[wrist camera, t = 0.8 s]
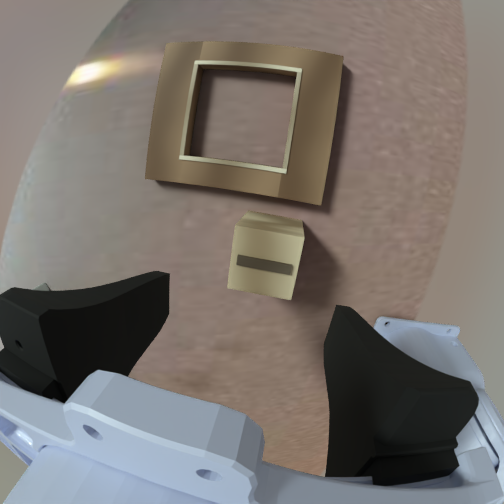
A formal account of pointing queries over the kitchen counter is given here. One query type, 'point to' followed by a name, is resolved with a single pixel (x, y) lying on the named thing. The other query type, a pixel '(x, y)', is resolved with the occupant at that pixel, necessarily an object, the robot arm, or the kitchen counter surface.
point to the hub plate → (300, 127)
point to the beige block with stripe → (266, 254)
